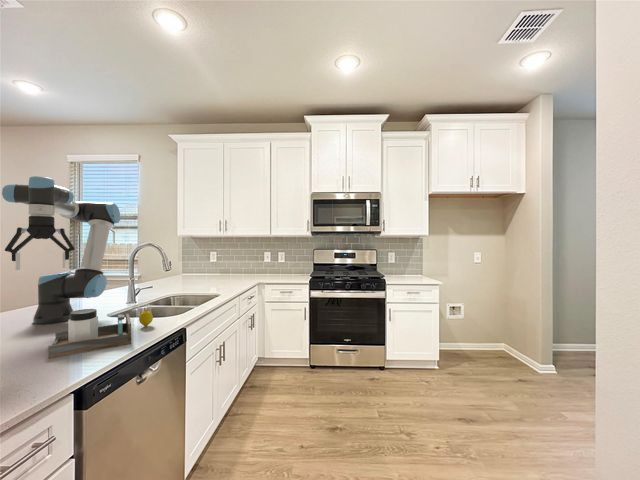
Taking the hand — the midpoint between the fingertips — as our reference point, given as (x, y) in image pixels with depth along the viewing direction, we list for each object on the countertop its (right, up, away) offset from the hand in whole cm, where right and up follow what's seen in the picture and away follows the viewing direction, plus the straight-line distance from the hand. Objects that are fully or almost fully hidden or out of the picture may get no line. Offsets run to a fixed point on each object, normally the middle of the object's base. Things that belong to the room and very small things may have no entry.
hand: (41, 268), depth 117 cm
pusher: (+30, -28, +3) cm, 41 cm away
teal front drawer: (+23, -29, -3) cm, 37 cm away
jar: (+20, -28, -4) cm, 35 cm away
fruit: (+31, -29, +19) cm, 46 cm away
